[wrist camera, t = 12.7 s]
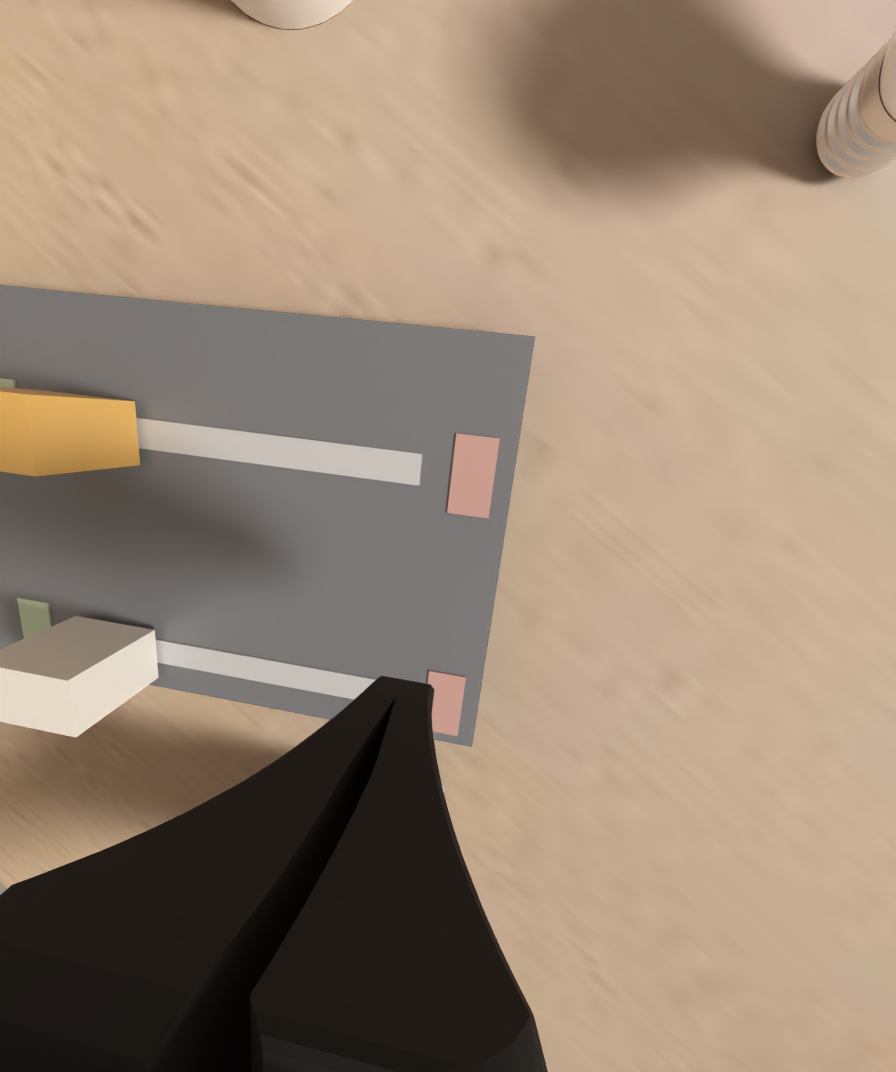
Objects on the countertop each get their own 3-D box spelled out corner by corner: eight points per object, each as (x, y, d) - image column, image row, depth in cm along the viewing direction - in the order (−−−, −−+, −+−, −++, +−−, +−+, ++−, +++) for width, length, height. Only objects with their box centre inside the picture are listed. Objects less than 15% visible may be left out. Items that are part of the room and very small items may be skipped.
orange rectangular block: (140, 465, 17) (35, 476, 13) (52, 453, 18) (-73, 460, 14) (134, 401, 17) (23, 394, 13) (44, 390, 17) (-90, 380, 13)
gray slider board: (475, 717, 21) (471, 748, 19) (42, 636, 23) (-2, 656, 21) (531, 346, 16) (535, 336, 14) (-13, 293, 19) (-76, 277, 17)
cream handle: (158, 677, 20) (76, 737, 16) (82, 663, 20) (-17, 718, 17) (154, 629, 19) (67, 680, 15) (75, 615, 20) (-29, 661, 16)
